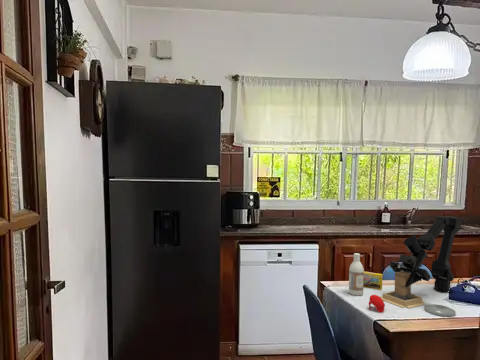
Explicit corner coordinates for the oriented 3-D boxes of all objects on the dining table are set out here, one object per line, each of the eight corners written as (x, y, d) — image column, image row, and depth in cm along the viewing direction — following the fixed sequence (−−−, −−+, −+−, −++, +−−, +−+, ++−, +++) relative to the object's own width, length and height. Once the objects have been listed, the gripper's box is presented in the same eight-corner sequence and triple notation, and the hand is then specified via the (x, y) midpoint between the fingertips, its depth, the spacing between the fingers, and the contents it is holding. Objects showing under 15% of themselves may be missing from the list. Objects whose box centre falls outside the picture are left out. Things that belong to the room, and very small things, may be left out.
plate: (443, 306, 163) (443, 303, 162) (462, 316, 151) (462, 314, 151) (418, 306, 161) (418, 304, 161) (435, 317, 149) (435, 314, 149)
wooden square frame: (398, 293, 180) (398, 288, 180) (428, 303, 166) (429, 298, 166) (376, 297, 172) (376, 292, 172) (406, 309, 158) (406, 303, 158)
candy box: (349, 285, 192) (350, 269, 192) (350, 284, 194) (351, 269, 194) (381, 290, 184) (381, 274, 184) (382, 289, 185) (382, 273, 185)
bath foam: (353, 296, 174) (354, 255, 173) (346, 291, 180) (347, 252, 180) (366, 295, 175) (367, 255, 175) (358, 291, 182) (359, 252, 182)
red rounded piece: (363, 299, 160) (368, 296, 155) (374, 294, 162) (379, 290, 157) (373, 316, 157) (378, 314, 152) (384, 311, 158) (390, 308, 153)
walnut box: (401, 295, 172) (401, 271, 172) (410, 299, 168) (411, 273, 168) (394, 297, 170) (394, 272, 170) (403, 300, 165) (404, 275, 165)
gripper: (391, 245, 179) (376, 269, 173) (427, 252, 162) (411, 279, 157) (401, 259, 183) (387, 283, 177) (437, 267, 166) (422, 294, 161)
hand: (400, 284), depth 168 cm, fingers closed on walnut box, 5 cm apart
